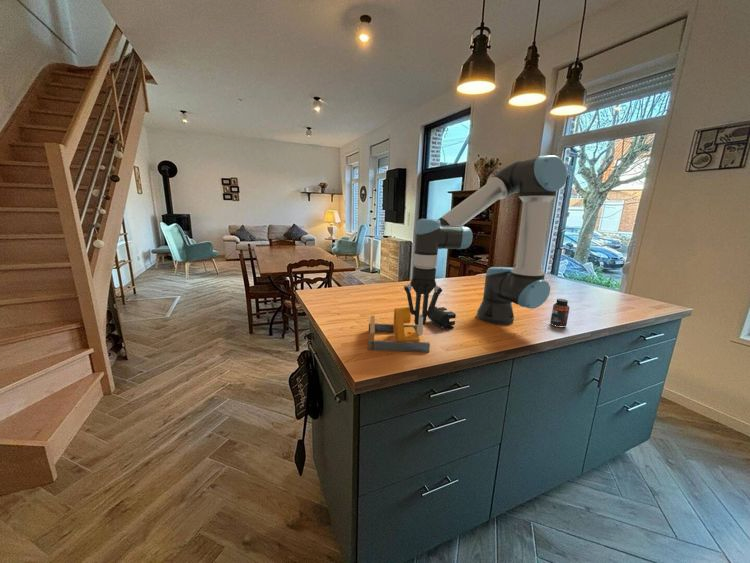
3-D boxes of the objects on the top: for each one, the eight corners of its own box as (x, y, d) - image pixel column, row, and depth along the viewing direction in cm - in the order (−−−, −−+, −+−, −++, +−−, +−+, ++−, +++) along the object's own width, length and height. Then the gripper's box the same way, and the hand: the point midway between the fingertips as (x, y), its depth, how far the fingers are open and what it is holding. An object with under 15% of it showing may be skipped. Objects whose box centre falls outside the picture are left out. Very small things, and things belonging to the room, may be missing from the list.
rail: (421, 332, 114) (422, 317, 112) (429, 352, 98) (430, 335, 97) (368, 330, 113) (369, 315, 112) (367, 349, 98) (368, 332, 96)
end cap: (426, 321, 126) (427, 306, 124) (440, 320, 128) (442, 305, 127) (440, 330, 117) (441, 314, 115) (455, 328, 119) (457, 312, 118)
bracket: (420, 346, 101) (420, 312, 98) (398, 348, 100) (398, 314, 97) (412, 333, 111) (412, 302, 108) (393, 335, 110) (392, 303, 108)
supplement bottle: (566, 325, 129) (571, 299, 126) (565, 329, 124) (571, 303, 121) (550, 321, 132) (555, 297, 129) (549, 325, 127) (553, 300, 124)
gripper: (441, 265, 103) (435, 329, 109) (403, 263, 103) (399, 328, 108) (446, 269, 96) (439, 338, 101) (406, 267, 96) (401, 337, 101)
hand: (419, 333), depth 105 cm, fingers closed
